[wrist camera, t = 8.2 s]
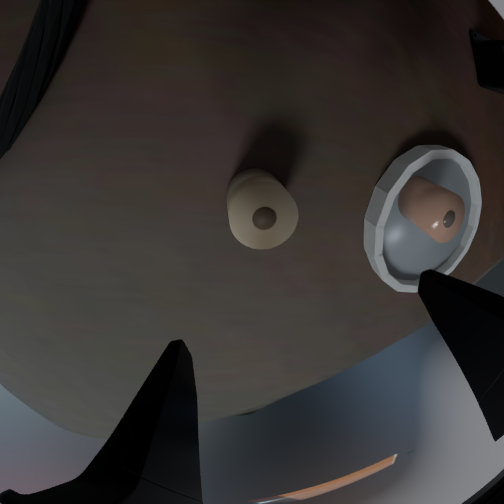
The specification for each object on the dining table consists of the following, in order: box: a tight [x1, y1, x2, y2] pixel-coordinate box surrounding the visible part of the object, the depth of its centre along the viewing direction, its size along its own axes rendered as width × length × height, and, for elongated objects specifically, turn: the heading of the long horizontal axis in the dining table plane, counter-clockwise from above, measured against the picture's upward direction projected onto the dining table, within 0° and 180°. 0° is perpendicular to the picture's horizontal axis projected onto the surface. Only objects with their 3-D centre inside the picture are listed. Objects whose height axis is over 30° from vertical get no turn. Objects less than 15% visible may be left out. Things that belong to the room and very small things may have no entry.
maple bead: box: [226, 168, 298, 249], centre depth 17 cm, size 4×4×5 cm
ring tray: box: [364, 145, 482, 292], centre depth 21 cm, size 14×14×2 cm
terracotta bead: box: [398, 176, 465, 243], centre depth 18 cm, size 4×4×5 cm
